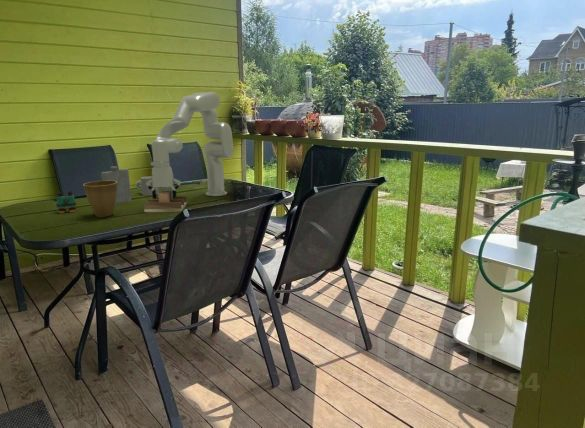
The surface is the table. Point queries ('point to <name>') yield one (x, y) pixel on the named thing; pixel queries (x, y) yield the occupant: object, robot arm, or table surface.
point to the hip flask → (119, 183)
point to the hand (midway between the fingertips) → (164, 198)
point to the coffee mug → (145, 186)
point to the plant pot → (101, 196)
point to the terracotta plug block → (164, 197)
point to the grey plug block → (169, 193)
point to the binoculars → (66, 202)
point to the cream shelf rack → (166, 205)
